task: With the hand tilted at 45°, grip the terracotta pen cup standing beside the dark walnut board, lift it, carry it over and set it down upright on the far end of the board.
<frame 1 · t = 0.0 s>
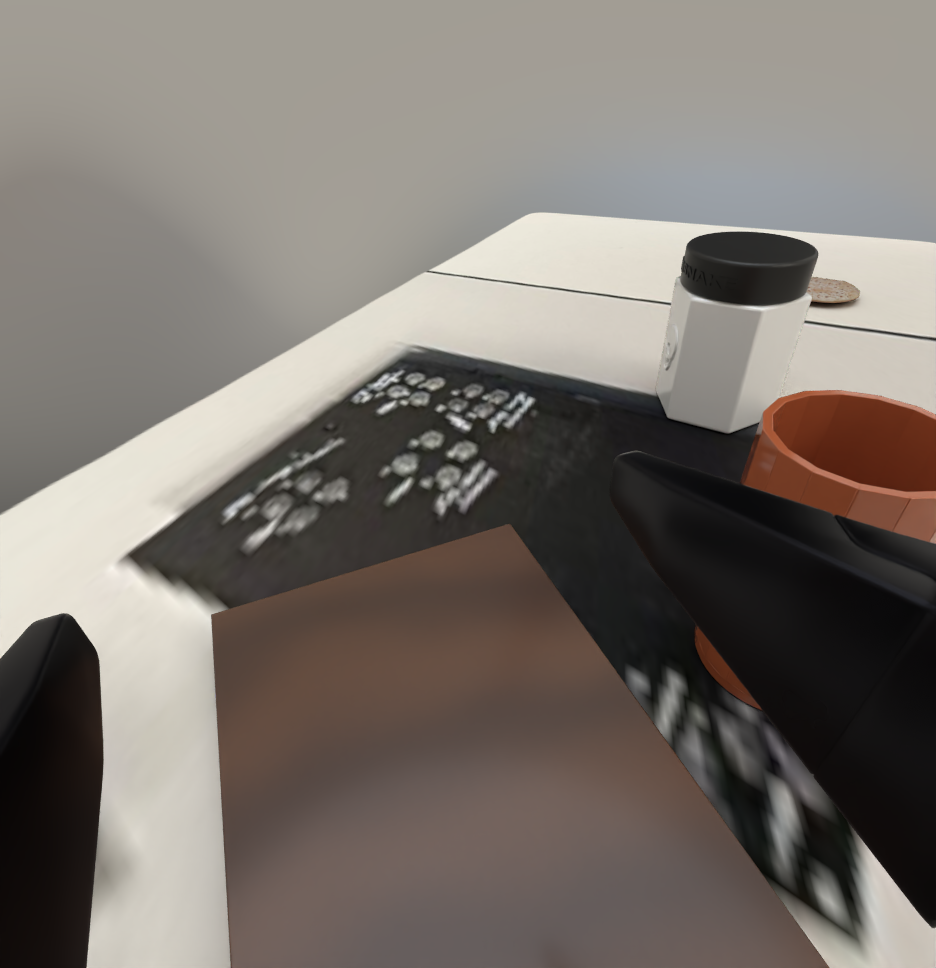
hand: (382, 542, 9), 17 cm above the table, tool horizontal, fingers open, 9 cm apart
flatbread: (817, 296, 63), on the table
jar: (710, 407, 45), on the table
pen cup: (769, 652, 27), on the table
board: (447, 779, 22), on the table
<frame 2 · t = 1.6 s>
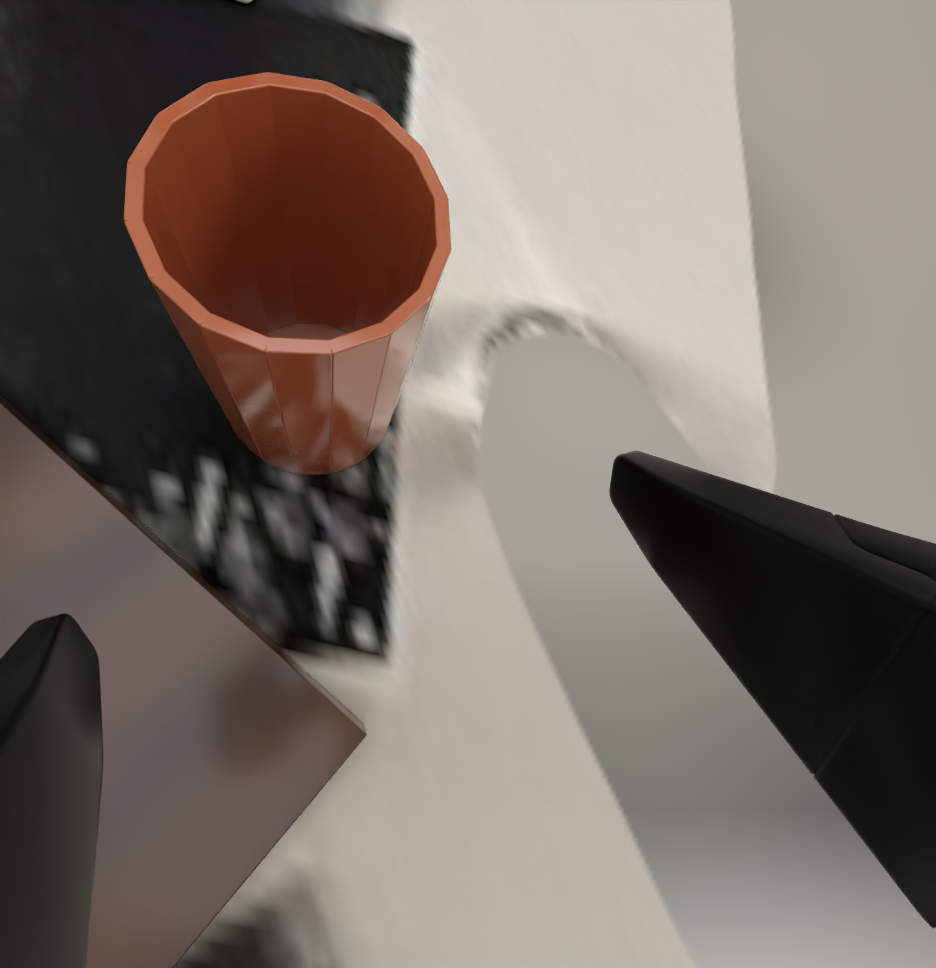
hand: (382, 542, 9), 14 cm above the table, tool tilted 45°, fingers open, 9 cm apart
pen cup: (313, 397, 24), on the table
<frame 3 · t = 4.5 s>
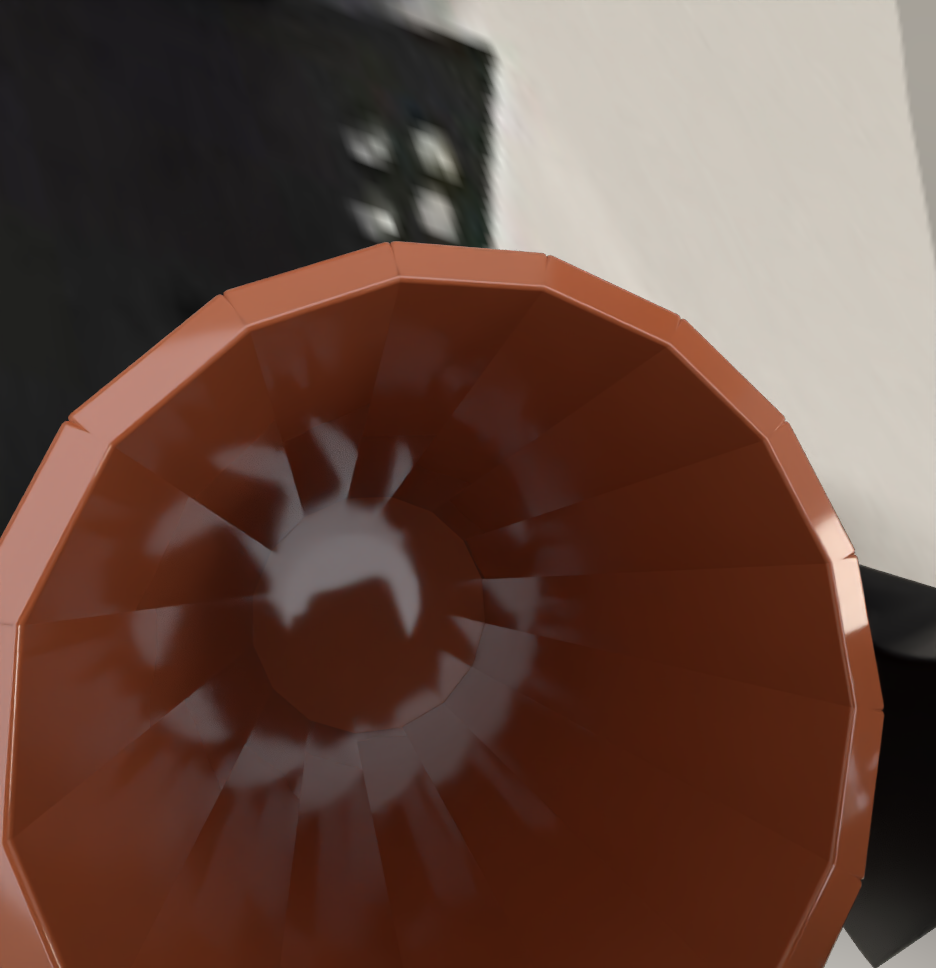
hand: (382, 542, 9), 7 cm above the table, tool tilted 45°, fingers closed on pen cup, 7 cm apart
pen cup: (372, 609, 16), on the table, touching gripper
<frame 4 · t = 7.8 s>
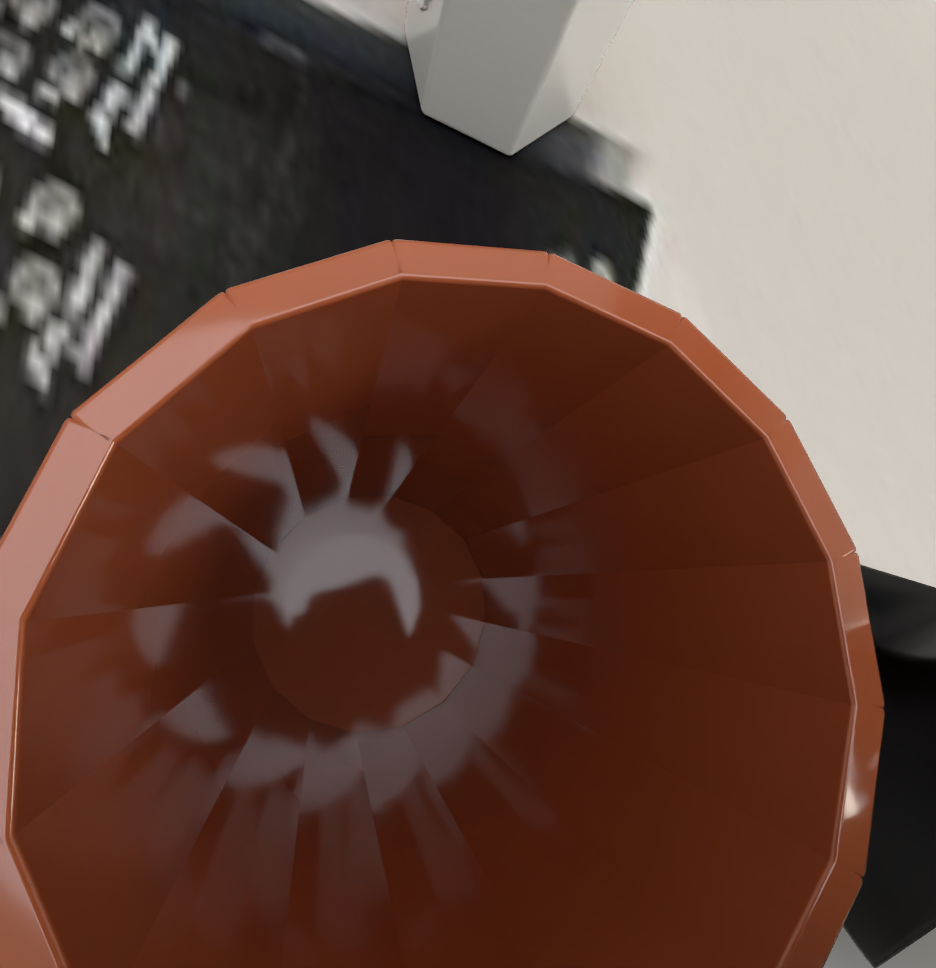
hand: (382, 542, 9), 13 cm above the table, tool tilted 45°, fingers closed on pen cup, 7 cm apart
jar: (488, 79, 28), on the table
pen cup: (372, 608, 16), point 7 cm above the table, touching gripper
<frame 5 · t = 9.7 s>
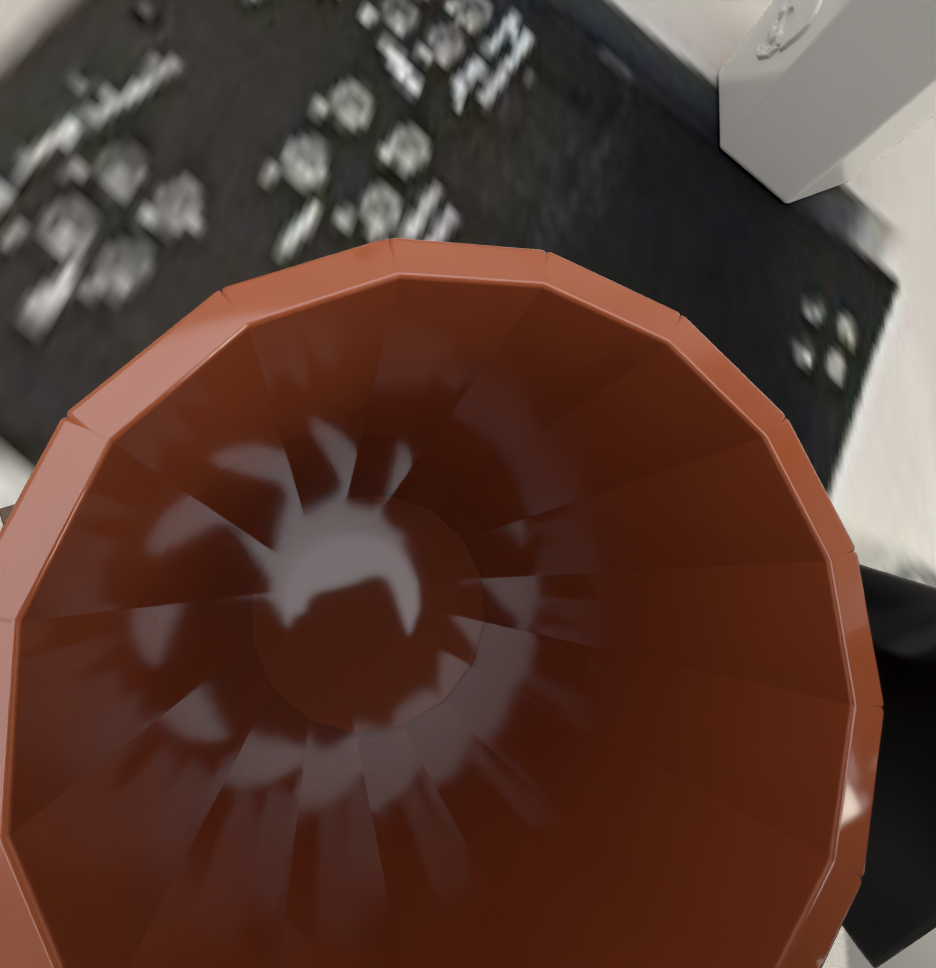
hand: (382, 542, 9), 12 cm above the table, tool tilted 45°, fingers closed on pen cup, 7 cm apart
jar: (777, 133, 30), on the table
pen cup: (371, 608, 16), point 5 cm above the table, touching gripper
when the fingers open (8 cm above the table, at t = 11.3 s): pen cup stays where it is, resting on board.
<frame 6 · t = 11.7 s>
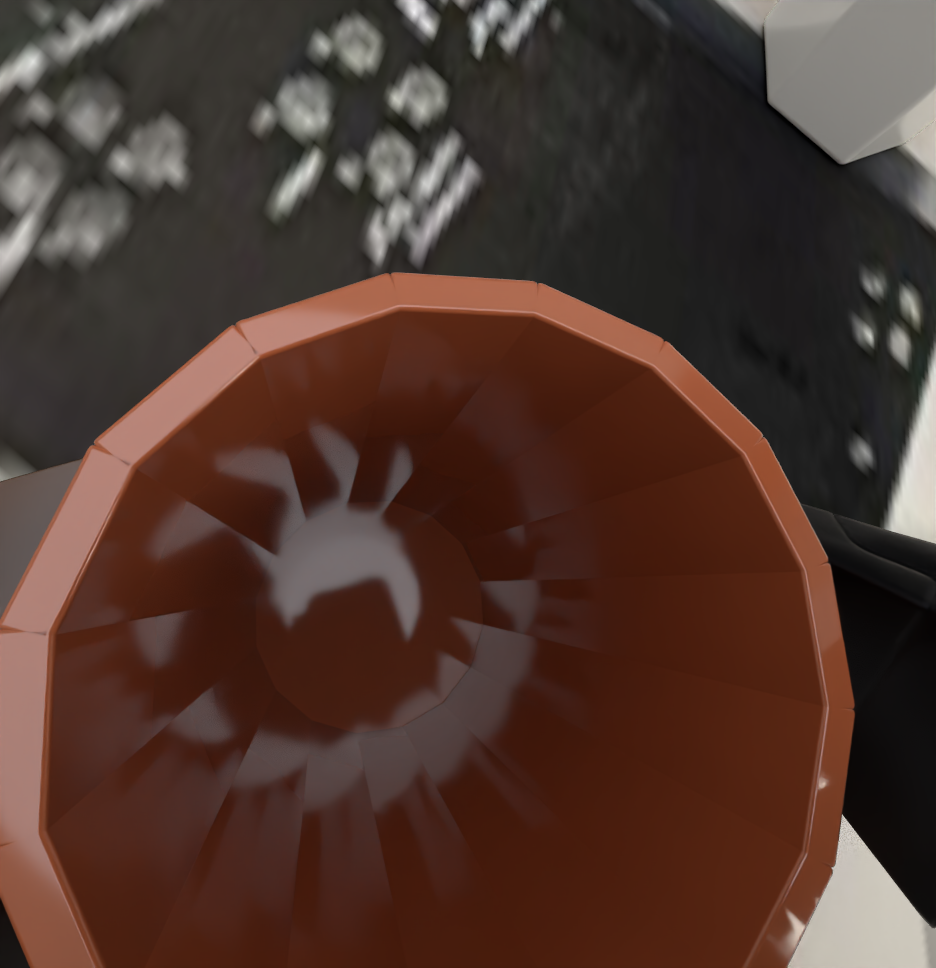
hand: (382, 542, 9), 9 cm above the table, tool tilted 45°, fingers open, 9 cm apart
jar: (829, 88, 27), on the table
pen cup: (372, 611, 16), point 2 cm above the table, touching board
board: (388, 763, 17), on the table
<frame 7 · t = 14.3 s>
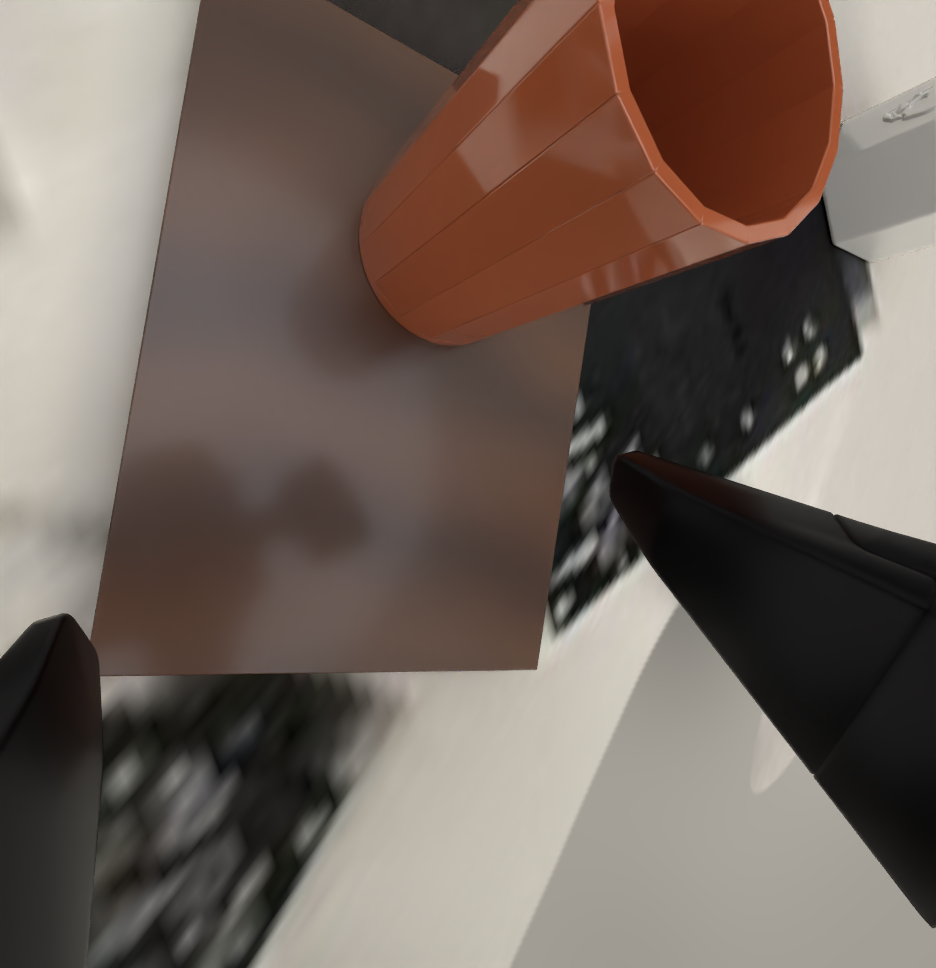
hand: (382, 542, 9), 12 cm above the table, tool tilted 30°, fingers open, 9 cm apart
jar: (852, 196, 37), on the table
pen cup: (446, 254, 21), point 2 cm above the table, touching board
board: (385, 372, 22), on the table
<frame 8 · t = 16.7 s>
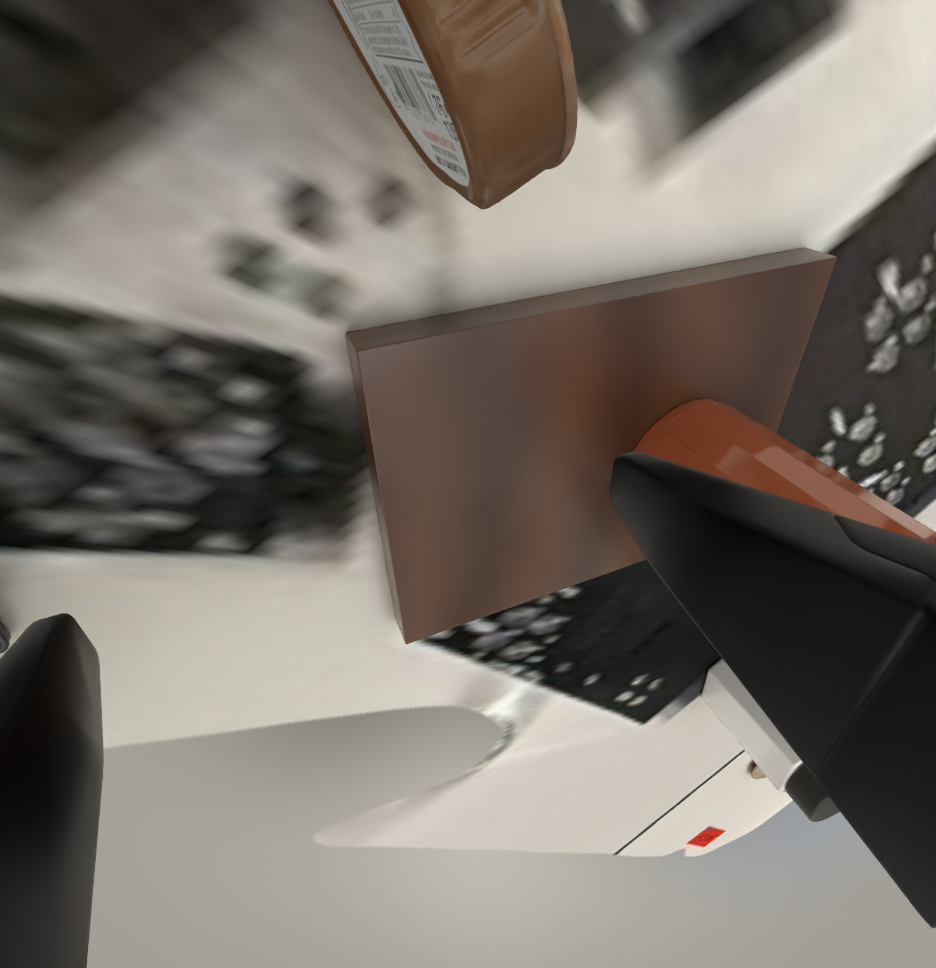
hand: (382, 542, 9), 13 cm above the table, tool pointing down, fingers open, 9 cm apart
flatbread: (771, 754, 72), on the table
jar: (736, 663, 52), on the table
pen cup: (680, 457, 29), point 2 cm above the table, touching board
board: (587, 444, 28), on the table
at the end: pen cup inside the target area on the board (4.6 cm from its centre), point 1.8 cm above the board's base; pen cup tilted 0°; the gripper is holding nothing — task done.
